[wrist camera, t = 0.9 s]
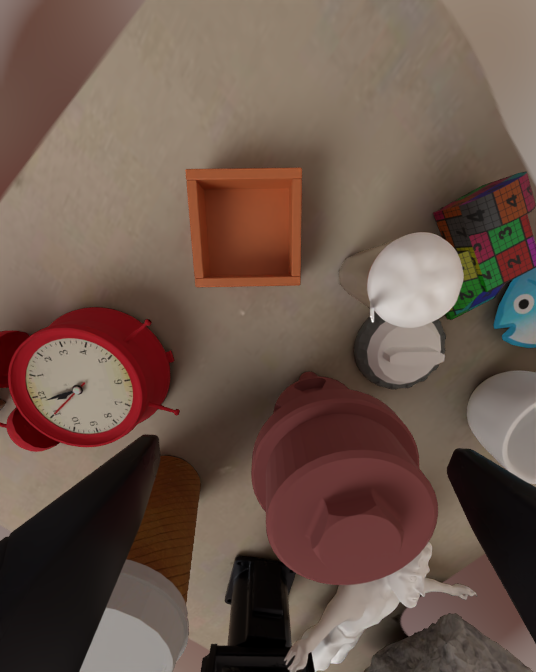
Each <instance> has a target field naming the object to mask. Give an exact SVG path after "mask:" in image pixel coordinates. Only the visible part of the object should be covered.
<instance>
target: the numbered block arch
mask: <svg viewBox="0 0 536 672" xmlns="http://www.w3.org/2000/svg"><path fill="white" fill-rule="evenodd" d="M535 207H536V205H535V201H534V197H533V194H532V190H531V186H530V182H529V179H528V175H527V172H521V173H518V174H515V175H512V176H509V177H506V178H503V179H500V180H497V181H494V182H491V183H488V184H485V185H482V186H481V187H479V188H477V189H475V190H473V191H472V192H470V193H468V194H466V195H464V196H463V197H461V198H459V199H457V200H456V201H454V202H452V203H450V204H448V205H447V206H445V207H443V208H441V209H440V210H438V211H436V212H434V213H433V214H434V217H435V219H436V222H437V225H438V228H439V230H440V233H441V236H442V238H443V239H444V240H446V241H447V242H448V243H450V244H451V245H452V246H453V247H454V249H455V250H456V252H457V253H458V256H459V258H460V261H461V264H462V269H463V274H464V278H463V283H462V286H461V289H460V292H459V295H458V298H457V301H456V303H455V304H454V306H453V307H452V308H451V309H450V310H449V311H448V312H447V313H446V317H447V319H449V320H452V319H454V318H456V317H458V316H460V315H462V314H464V313H466V312H468V311H470V310H472V309H474V308H475V307H477V306H479V305H481V304H483V303H485V302H487V301H489V300H491V299H493V298H495V297H496V295H497V294H498V293H499V291H500V290H501V288H502V287H503V286H504V284H505V283H507V282H509V281H511V280H513V279H515V278H517V277H519V276H521V275H523V274H525V273H527V272H528V271H530V270H532V269H534V268H536V244H535V241H534V237H533V234H532V230H531V227H530V223H529V219H528V216H527V214H528V213H529V212H531V211H532V210H533V209H535Z"/></svg>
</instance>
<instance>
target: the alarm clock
mask: <svg viewBox="0 0 536 672" xmlns="http://www.w3.org/2000/svg"><path fill="white" fill-rule="evenodd" d="M144 322H145V323H144V324H142V323H141V322H140V321H138V320H137V319H135V318H134V317H132V316H130V315H128V314H125V313H123V312H120V311H117V310H114V309H109V308H102V307H89V308H83V309H78V310H74V311H71V312H69V313H66V314H64V315H62V316H61V317H59V318H58V319H56V320H55V321H54V322H53V323H51V325H50V326H49V327H46V328H44V329H41V330H39V331H37V332H35V333H34V334H32V335H31V336H29V335H28V334H27V333H25V332H21V331H2V332H0V388H9V390H10V394H11V396H12V399H13V401H14V403H15V405H16V408H15V409H14V410H13V411H12V412H11V414H10V415H9V417H8V419H7V424H3V423H0V426H1V427H5V428H7V432H8V434H9V436H10V438H11V439H12V441H13V442H14V443H15V444H17V445H18V446H19V447H21V448H23V449H26V450H29V451H35V452H37V451H44V450H47V449H50V448H52V447H54V446H56V445H57V444H59V443H60V442H61V443H64V444H67V445H72V446H78V447H97V446H102V445H106V444H109V443H112V442H114V441H116V440H118V439H120V438H122V437H123V436H125V435H126V434H128V433H129V432H130V431H131V430H133V429H134V427H135V426H136V425H137V424H139V423H141V422H143V421H144V420H146V419H148V418H149V417H150V416H151V415H153V414H154V413H155V412H156V411H157V409H160V410H165V411H169V412H173V413H174V414H175V415H179V412H180V410H179V409H176V410H173V409H170V408H167V407H164V406H162V405H161V404H162V402H163V401H164V399H165V397H166V395H167V392H168V389H169V385H170V366H169V363H171V362H174V358H173V354H172V351H171V350H170V351H169V352H165V350H164V348H163V347H162V345H161V343H160V342H159V340H158V339H157V337H156V336H155V335H154V334H153V333H152V332H151V331H150V330H149V329H148V328H147V327H146V325H148V326H149V325H151V323H152V322H151V320H149V319H146V320H145V321H144Z"/></svg>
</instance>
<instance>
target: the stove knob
mask: <svg viewBox="0 0 536 672" xmlns="http://www.w3.org/2000/svg"><path fill="white" fill-rule="evenodd" d="M445 339H446V335H445V332H444V331H443V328H442V326H441V322H440V321H439V319H437V320H435V321H433V322H431V323H428V324H425V325H423V326H419V327H415V328H404V327H398V326H395V325H392V324H390V323H388V322H386V321H384V320H383V319H382V318H381V317H379V316H378V315H377V314H376V313H374V323H373V322H372V320H371V318H370V317H369V318H368V319H367V320H366V321H365V323H364V324H363V325H362V327H361V329H360V330H359V332H358V335H357V337H356V341H355V347H354V353H355V359H356V363H357V365H358V367H359V369H360V371H361V372H362V373H363V375H364V376H365V377H366V378H368V379H369V380H370V381H372V382H373V383H375V384H377V385H379V386H382V387H386V388H389V389H397V388H409V387H412V386H413V385H414V384H416V383H418V382H421V381H424V380H426V379H427V376H428V375H429V374H430V373H431V372H432V371H433V370H436V369H437V368H438V366H439V363H441V362H443V361H444V359H445V355H444V353H445V348H444V347H445Z"/></svg>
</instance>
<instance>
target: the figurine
mask: <svg viewBox="0 0 536 672" xmlns="http://www.w3.org/2000/svg"><path fill="white" fill-rule="evenodd" d="M431 555H432V545H431V544H430V543H429V542H428V544H427V545H426V546H425V548H424V549H423V550H422V551H421V553H420V554H419V555H418V556H417V557H416V558H415V559H413V560H412V561H411V562H410V563H409V564H407V565H406V566H404V567H403V568H402V569H400V570H398V571H396V572H394V573H393V574H391V575H388V576H386V577H383V578H381V579H378V580H375V581H371V582H367V583H361V584H355V585H339V586H338V589H337V593H336V595H335V596H334V597H333V599H332V600H331V601H330V602H329V604H328V605H327V606H326V609H325V611H324V612H323V614H322V617H321V619H320V621H319V622H318V624H317V625H315V626H312V627H311V628H309V629H307V630H306V631H305V632H304V634H303V636H302V638H301V640H297V641H296V642H295V643H294V645H293V646H292V647H291V648H290V650H289V652H288V654H287V656H286V657H285V659H284V661H286V660H287V661H286V665H287V664H288V662H289V661H290V659H291V658H292V657H293V656H294V655H295V658H294V660H293V663H292V664H291V665H290V666H289V667H288V670H290V672H296V671H297V670H300V669H304V667H305V666H306V664H307V660H308V654H309V653H310V652H312V658H313V663H314V669H315V672H316V671H317V670H321V671H324V670H326V669H327V668H328V667H329V665H330V663H331V664H333V663H335V664H339V663H342V662H343V661H344V659H345V658H346V656H347V654H348V652H349V651H350V650H351V649H352V648H354V646H355V645H356V644H357V642H358V640H359V638H360V636H361V635H362V633H363V632H364V629H366V628H368V627H370V626H373V625H375V624H378V623H380V621H381V619H383V618H384V617H386V616H387V615H389V614H390V613H391V612H393V611H394V610H395V608H396V607H397V606H398V604H399V602H401V603H402V604H403V605H405V606H406V607H408V608H413V607H416V605H417V601H418V598H419V597H420V595H422V596H423V597H425V593H429V592H443V593H448V594H450V595H451V596H458V597H460V598H461V599H464V600H466V599H467V597H468V595H469V596H473V595H476V596H477V594H476V592H474V591H473V590H472V589H470V588H469V587H468V586H465V585H462V584H454V585H452V586H451V585H449V584H444V583H440V582H438V581H436V580H434V579H430V578H425V577H426V574H427V573H428V572H429V571H430V568H429V566H428V562H429V559H430V558H431ZM462 594H465V596H463V595H462Z"/></svg>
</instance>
